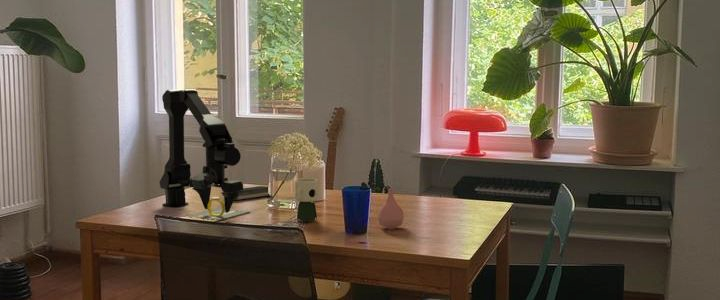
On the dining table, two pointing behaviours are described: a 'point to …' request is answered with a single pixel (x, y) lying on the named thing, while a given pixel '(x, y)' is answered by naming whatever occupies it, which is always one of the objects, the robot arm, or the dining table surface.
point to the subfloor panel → (218, 211)
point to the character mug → (306, 198)
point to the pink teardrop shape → (390, 212)
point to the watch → (220, 203)
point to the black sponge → (252, 192)
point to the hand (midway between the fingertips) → (216, 210)
